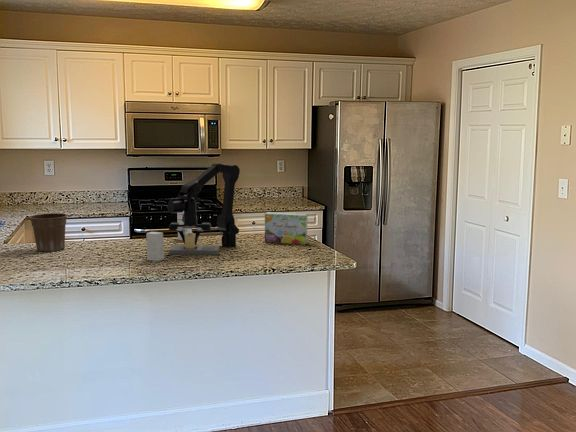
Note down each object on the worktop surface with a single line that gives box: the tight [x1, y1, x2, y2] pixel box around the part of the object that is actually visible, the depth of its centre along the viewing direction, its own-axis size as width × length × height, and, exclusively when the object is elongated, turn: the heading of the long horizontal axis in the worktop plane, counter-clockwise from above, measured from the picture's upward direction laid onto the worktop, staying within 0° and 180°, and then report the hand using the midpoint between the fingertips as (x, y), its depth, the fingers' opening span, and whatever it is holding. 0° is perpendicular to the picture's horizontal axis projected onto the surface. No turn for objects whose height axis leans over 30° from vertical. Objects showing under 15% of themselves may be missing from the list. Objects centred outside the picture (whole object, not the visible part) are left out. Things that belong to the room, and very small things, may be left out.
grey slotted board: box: [168, 244, 221, 256], centre depth 264 cm, size 22×11×2 cm, turn 92°
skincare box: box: [146, 231, 165, 262], centre depth 247 cm, size 6×4×12 cm
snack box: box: [264, 211, 308, 246], centre depth 287 cm, size 21×6×15 cm, turn 77°
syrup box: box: [176, 211, 193, 241], centre depth 293 cm, size 6×6×14 cm
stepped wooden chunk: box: [184, 232, 197, 249], centre depth 263 cm, size 4×5×7 cm
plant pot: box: [29, 212, 68, 253], centre depth 265 cm, size 16×16×16 cm
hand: (190, 244), depth 263 cm, fingers closed on stepped wooden chunk, 4 cm apart
